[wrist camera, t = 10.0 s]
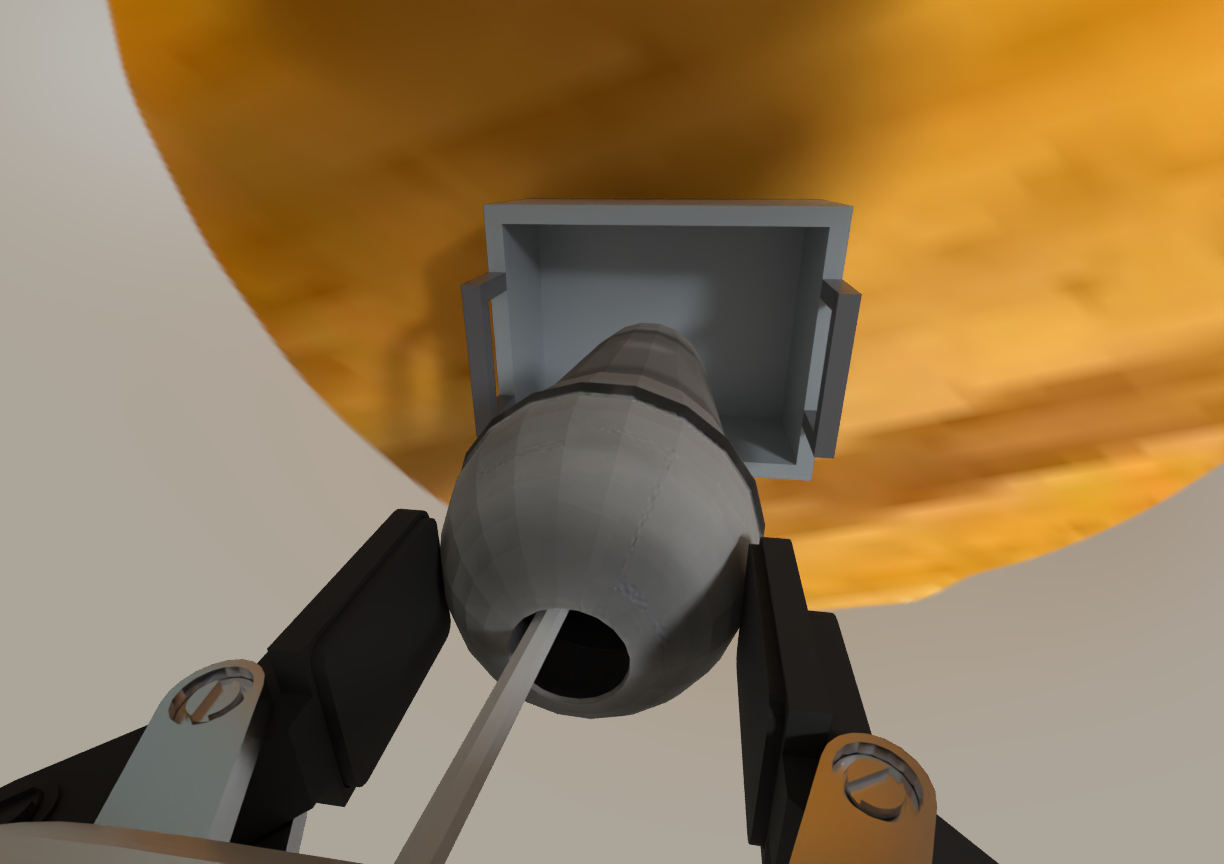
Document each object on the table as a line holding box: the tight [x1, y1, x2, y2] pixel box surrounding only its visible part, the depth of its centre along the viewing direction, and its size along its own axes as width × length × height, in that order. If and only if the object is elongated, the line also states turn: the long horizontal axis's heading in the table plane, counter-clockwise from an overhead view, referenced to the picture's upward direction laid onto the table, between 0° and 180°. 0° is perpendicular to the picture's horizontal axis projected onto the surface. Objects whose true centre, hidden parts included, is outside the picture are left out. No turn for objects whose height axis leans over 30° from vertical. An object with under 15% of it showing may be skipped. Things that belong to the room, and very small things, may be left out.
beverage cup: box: [394, 323, 765, 864], centre depth 15 cm, size 7×7×20 cm
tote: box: [461, 199, 862, 481], centre depth 29 cm, size 16×13×10 cm
